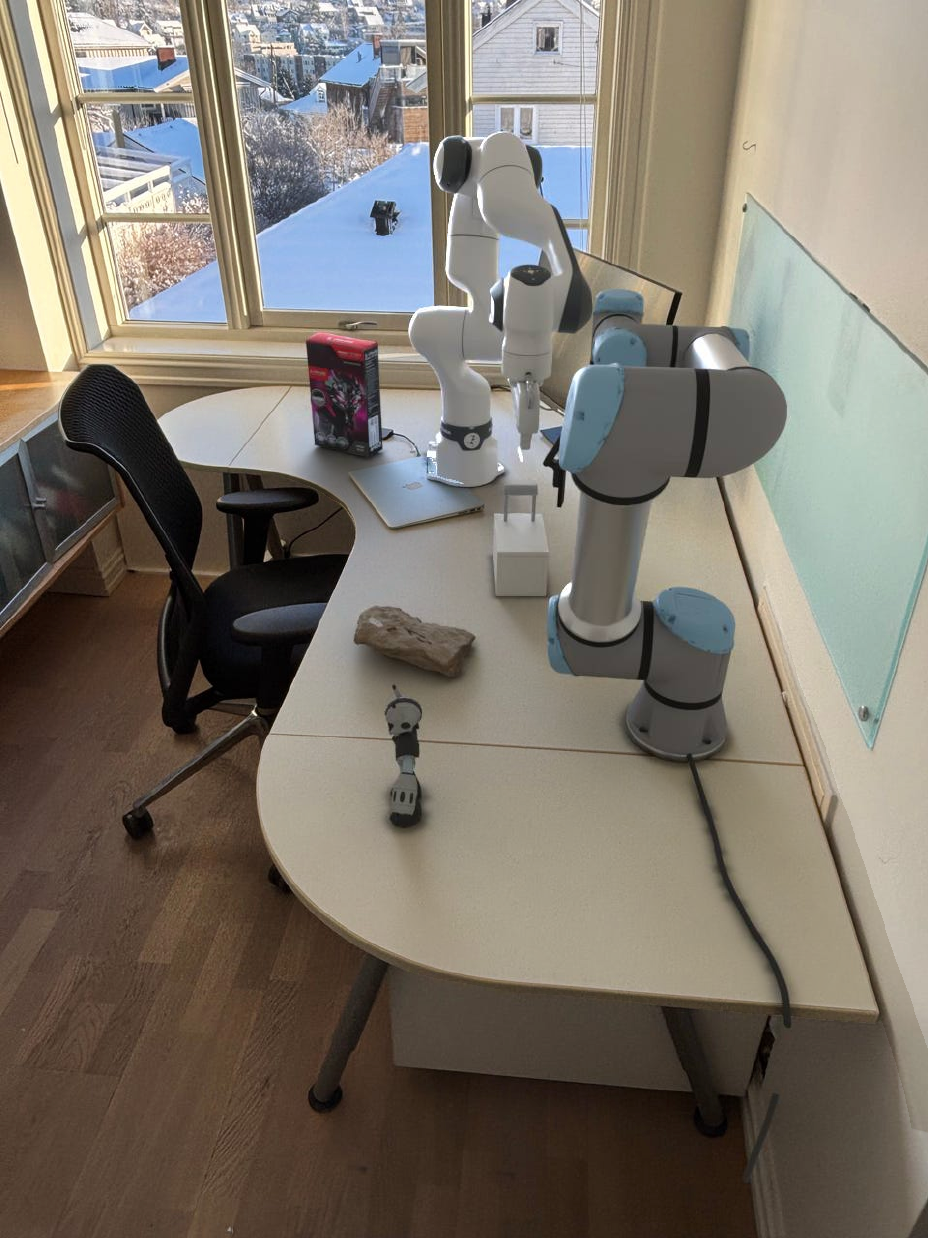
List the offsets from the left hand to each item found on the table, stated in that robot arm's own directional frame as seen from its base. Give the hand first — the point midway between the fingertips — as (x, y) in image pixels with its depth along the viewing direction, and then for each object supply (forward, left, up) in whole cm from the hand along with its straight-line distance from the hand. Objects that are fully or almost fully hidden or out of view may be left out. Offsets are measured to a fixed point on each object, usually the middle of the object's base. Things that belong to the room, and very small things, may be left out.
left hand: (523, 438), depth 171 cm
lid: (+5, -1, -18) cm, 19 cm away
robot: (+62, -33, -27) cm, 75 cm away
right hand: (+19, +9, -6) cm, 22 cm away
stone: (+26, -26, -27) cm, 46 cm away
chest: (+5, -1, -27) cm, 27 cm away
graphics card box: (-64, -26, -27) cm, 74 cm away
